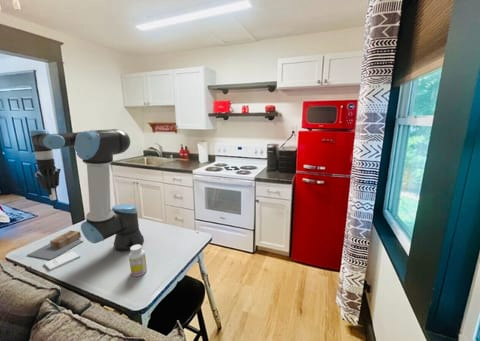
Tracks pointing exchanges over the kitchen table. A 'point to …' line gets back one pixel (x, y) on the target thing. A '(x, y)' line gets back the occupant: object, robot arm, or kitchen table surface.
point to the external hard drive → (61, 260)
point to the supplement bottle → (137, 260)
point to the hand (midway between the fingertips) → (53, 199)
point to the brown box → (65, 239)
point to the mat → (53, 251)
